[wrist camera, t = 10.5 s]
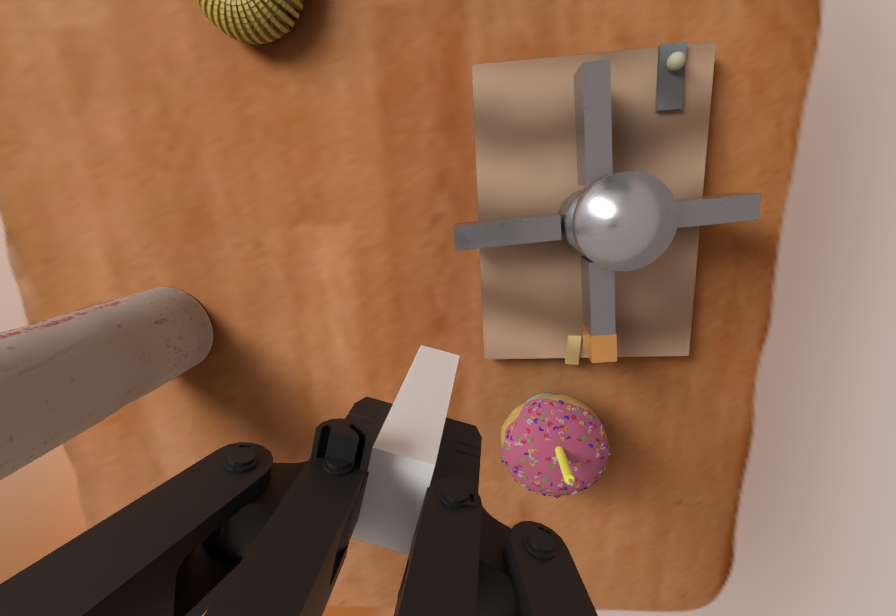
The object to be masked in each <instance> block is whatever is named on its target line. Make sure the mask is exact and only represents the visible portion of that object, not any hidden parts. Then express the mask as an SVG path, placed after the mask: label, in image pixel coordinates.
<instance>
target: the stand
mask: <svg viewBox="0 0 896 616" xmlns="http://www.w3.org/2000/svg"><path fill="white" fill-rule="evenodd" d="M715 49H716V41H714V42H704V43H694V44H687V42H682V43H672V44H661V45H660V46H659V47H652V48H642V49H632V50H622V51H611V52H601V53H591V54H580V55H570V56H560V57H549V58H539V59H529V60H518V61H508V62H498V63H488V64H477V65H472V74H473V98H474V122H475V146H476V170H477V194H478V217H479V221H484V220H493V219H502V218H511V217H520V216H529V215H538V214H547V213H556V214H558V212H559V209H560V207H561V205H562V204H563V202H564V201H565V200H566V199H567V198H568V197H569V196H570V195H571V194H573V193H574V192H576V191H578V190H581V189H586V188H588V187H589V186H590V185H592V184H589V185H578V177H577V152H576V126H575V100H574V74H575V73H576V71H577V70H578V68H579V67H580V65H581V64H582V63H584V62H590V61H597V60H603V59H610V68H611V120H612V172H613V174H614V173H620V172H630V171H634V172H642V173H646V174H649V175H652V176H654V177H656V178H657V179H659V180H660V181H662V182H663V183H664V184H665V185H666V186H667V187H668V188H669V190H670V191H671V192H672V194H673V196H674V198H675V199H683V198H692V197H701V196H703V187H704V175H705V164H706V152H707V141H708V129H709V118H710V106H711V95H712V83H713V72H714V60H715ZM699 233H700V226H692V227H682V228H677V229H676V233H675V235H674V238H673V240H672V242H671V244H670V245H669V247H668V248H667V249H666V251H665V252H664V253H663V254H662V255H661V256H660V257H659V258H658V259H656V260H655V261H653V262H652V263H650V264H648V265H647V266H645V267H642V268H640V269H636V270H632V271H614V276H615V328H616V334H617V357H650V356H689V348H690V336H691V325H692V313H693V302H694V290H695V279H696V267H697V256H698V244H699ZM561 239H562V240H555V241H545V242H535V243H525V244H515V245H506V246H496V247H486V248H480V265H481V289H482V313H483V336H484V359H536V358H565V364H574V365H578V363H579V358H589V357H588V355H587V353H586V352H585V350H584V348H583V327H582V323H583V307H582V281H581V256H585V255H584V254H582V253H581V252H579V251H578V250H576V249H575V248H574V247H572V246H571V245H570V244H568V243H567V242H566V241H565V240H564V239H563V238H562V236H561Z"/></svg>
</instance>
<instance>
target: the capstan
mask: <svg viewBox="0 0 896 616" xmlns="http://www.w3.org/2000/svg"><path fill="white" fill-rule="evenodd" d="M574 100H575V126H576V152H577V177H578V185H589V184H592V185H590V186H589V187H588V188H586V189H581V190H578V191H576V192H574V193H573V194H571V195H570V196H569V197H568V198H567V199H566V200H565V201H564V202H563V204H562V205H561V207H560V209H559V212H558V214H556V213H547V214H538V215H529V216H520V217H511V218H502V219H493V220H484V221H474V222H465V223H457V224H456V225H455V226H454V227H453V229H454V238H455V247H456V251H457V250H466V249H476V248H486V247H496V246H506V245H515V244H525V243H535V242H545V241H555V240H562V239H561V236H562V238H563V239H564V240H565V241H566V242H567V243H568V244H570V245H571V246H572V247H574V248H575V249H576V250H578V251H579V252H581V253H582V254H584V255H585V256H581V281H582V307H583V323H582V327H583V348H584V350H585V352H586V353H587V355H588V357H589V359H590V361H591V362H592V363H601V362H616V361H617V334H616V328H615V276H614V271H632V270H636V269H640V268H642V267H645V266H647V265H648V264H650V263H652V262H653V261H655V260H656V259H658V258H659V257H660V256H661V255H662V254H663V253H664V252H665V251H666V249H667V248H668V247H669V245H670V244H671V242H672V240H673V238H674V235H675V233H676V229H677V228H682V227H692V226H702V225H712V224H721V223H731V222H741V221H751V220H759V216H760V200H761V193H728V194H719V195H710V196H701V197H692V198H683V199H675V198H674V196H673V194H672V192H671V191H670V190H669V188H668V187H667V186H666V185H665V184H664V183H663V182H662V181H660V180H659V179H657V178H656V177H654V176H652V175H649V174H646V173H642V172H634V171H630V172H620V173H614V174H613V172H612V120H611V68H610V59H603V60H597V61H590V62H584V63H582V64H581V65H580V67H579V68H578V70H577V71H576V73H575V74H574Z"/></svg>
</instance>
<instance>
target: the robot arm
mask: <svg viewBox="0 0 896 616" xmlns="http://www.w3.org/2000/svg"><path fill="white" fill-rule="evenodd" d="M458 361H459V355H456V354H452V353H448V352H445V351H441V350H437V349H434V348H430V347H426V346H423V345H421V346H420V348H419V350H418V352H417V355H416V357H415V359H414V361H413V363H412V365H411V367H410V369H409V371H408V374H407V376H406V378H405V380H404V382H403V384H402V386H401V388H400V390H399V393H398V395H397V397H396V399H395V401H394V403H393V404H391V403H387V402H384V401H380V400H377V399H373V398H369V397H365V398H363V399H362V400H360V401H358V402H356V403H355V404H354V406H353V407H352V409H351V410H350V412H349V414H348V415H347V416H346V418H345V419H331V420H328V421H325V422H322V423H321V424H320V425H319V426H318V427H316V431H315V437H314V443H313V449H312V454H311V458H310V459H309V461H306V462H301V463H273V457H272V455H271V452H270V451H269V450H267V449H266V448H265V447H263V446H261V445H258V444H254V443H243V442H240V443H235V444H229V445H227V446H225V447H222V448H220V449H218V450H216V451H215V452H213V453H211V454H210V455H208V456H207V457H205V458H203V459H202V460H200V461H198V462H197V463H195V464H194V465H192V466H190V467H189V468H187V469H186V470H184V471H182V472H181V473H179V474H177V475H176V476H174V477H173V478H171V479H169V480H168V481H166V482H165V483H163V484H161V485H160V486H158V487H156V488H155V489H153V490H152V491H150V492H148V493H147V494H145V495H144V496H142V497H140V498H139V499H137V500H135V501H134V502H132V503H131V504H129V505H127V506H126V507H124V508H123V509H121V510H119V511H118V512H116V513H114V514H113V515H111V516H110V517H108V518H106V519H105V520H103V521H102V522H100V523H98V524H97V525H95V526H93V527H92V528H90V529H89V530H87V531H85V532H84V533H82V534H81V535H79V536H77V537H76V538H74V539H72V540H71V541H69V542H68V543H66V544H64V545H63V546H61V547H60V548H58V549H56V550H55V551H53V552H51V553H50V554H48V555H47V556H45V557H43V558H42V559H40V560H39V561H37V562H35V563H34V564H32V565H30V566H29V567H27V568H26V569H24V570H22V571H21V572H19V573H18V574H16V575H14V576H13V577H11V578H9V579H8V580H6V581H5V582H3V583H1V584H0V616H202V615H203V614H204V613H205V612H206V610H207V612H206V613H205V615H204V616H322V614H323V612H324V609H325V607H326V604H327V602H328V599H329V597H330V595H331V592H332V590H333V587H334V585H335V582H336V580H337V577H338V575H339V572H340V570H341V567H342V565H343V562H344V560H345V557H346V553H347V549H348V544H349V540H350V538H351V535H352V533H353V537H352V538H353V539H356V540H360V541H363V542H367V543H370V544H373V545H377V546H380V547H384V548H387V549H391V550H394V551H397V552H401V553H404V554H408V555H409V557H408V561H407V565H406V568H405V572H404V575H403V579H402V583H401V586H400V590H399V593H398V600H397V604H396V608H395V613H394V616H598V615H597V613H596V611H595V608H594V606H593V604H592V602H591V599H590V597H589V595H588V593H587V590H586V588H585V586H584V584H583V581H582V579H581V577H580V575H579V572H578V570H577V568H576V566H575V563H574V561H573V559H572V557H571V555H570V552H569V550H568V548H567V546H566V545H565V543H564V542H563V540H562V538H561V537H560V536H559V535H557V534H556V533H555V532H554V531H553V530H552V529H550V528H548V527H546V526H545V525H543V524H540V523H537V522H533V521H523V522H519V523H518V524H516V525H514V526H513V528H512V529H511V528H509V527H508V526H506V525H504V524H502V523H501V522H499V521H497V520H496V519H495V518H493V517H492V516H491V515H490V514H489V513H488V512H487V511H486V510H485V509H484V508H483V506H482V503H481V498H480V496H479V495H478V486H479V470H480V455H481V440H482V437H481V435H480V433H479V431H478V429H477V427H476V426H474V425H471V424H467V423H463V422H460V421H456V420H453V419H449V418H446V415H447V410H448V406H449V401H450V397H451V392H452V388H453V383H454V379H455V374H456V370H457V365H458ZM353 531H354V532H353Z"/></svg>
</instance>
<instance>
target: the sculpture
mask: <svg viewBox="0 0 896 616" xmlns="http://www.w3.org/2000/svg"><path fill="white" fill-rule="evenodd" d="M302 1H303V2H304V0H290V1H288V0H197V2H198V4H199V6H200V7H201V9H202V11H203V12H204V14H205V15H206V16H207V18H209V20H210V21H211V22H212V23H213V25H214V26H216V27H217V28H218V29H219V30H221V31H222V32H224V34H226V35H229V36H230V37H231V38H233V39H235V40H239V41H241V42H243V43H244V42H245V43H250V44H264V43H265V44H266V43H268V42H273V41H275V39H276V38H277V39H279V38H281V37H283V32H285V34H286V33H288V32H289V31H290V29H289V26H288V24H289V25H290V26H292V27H293V26H294V25H295V22H294V21H293V20H292V18H291V17H290V16H289V15H288V14H287V13H286V12H285V11H287V12H288V13H289V14H291V15H292V16H293V17H295V18H296V19H298V17H299V15H300V14H299V13H297V12H296V11H295V10H294V9H296V10H299V11H301V10H302V9H303V8H302V7H303V4H302V3H301V2H302ZM236 6H237V7H236ZM282 8H283V9H284V10H285V11H284V10H283V9H282ZM274 12H275V13H274ZM277 17H278V18H277ZM234 19H235V20H234ZM278 19H279V20H280V21H281V23H280V22H279V20H278ZM242 22H243V23H242ZM287 23H288V24H287ZM275 25H276V26H275ZM245 28H246V29H245ZM276 28H277V29H276ZM270 33H271V34H270Z"/></svg>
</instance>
